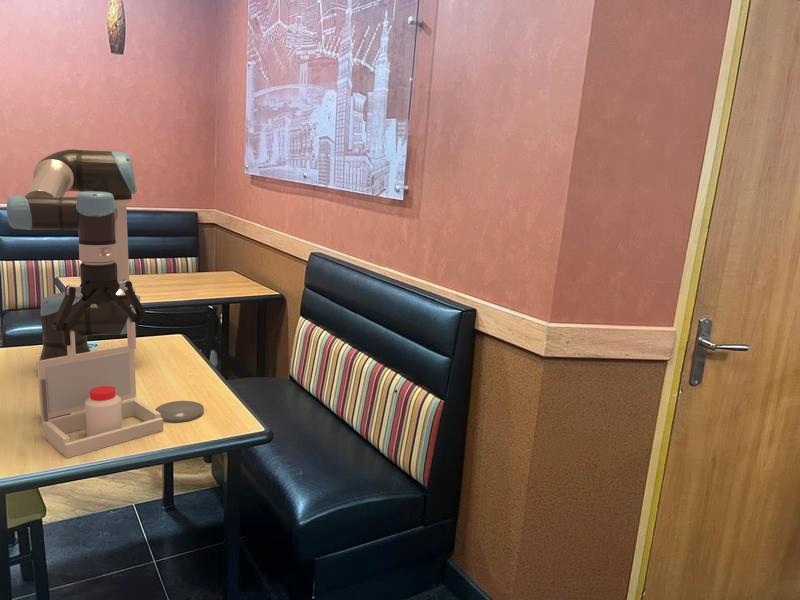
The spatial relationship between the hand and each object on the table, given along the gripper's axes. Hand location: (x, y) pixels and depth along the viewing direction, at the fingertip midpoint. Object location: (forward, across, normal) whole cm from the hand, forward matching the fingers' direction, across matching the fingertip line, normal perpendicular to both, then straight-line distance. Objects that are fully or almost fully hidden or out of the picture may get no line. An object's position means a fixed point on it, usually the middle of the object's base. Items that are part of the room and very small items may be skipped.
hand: (102, 353), depth 145 cm
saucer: (+20, +19, 0) cm, 27 cm away
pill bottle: (+20, 0, 0) cm, 20 cm away
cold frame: (+20, 0, 0) cm, 20 cm away
